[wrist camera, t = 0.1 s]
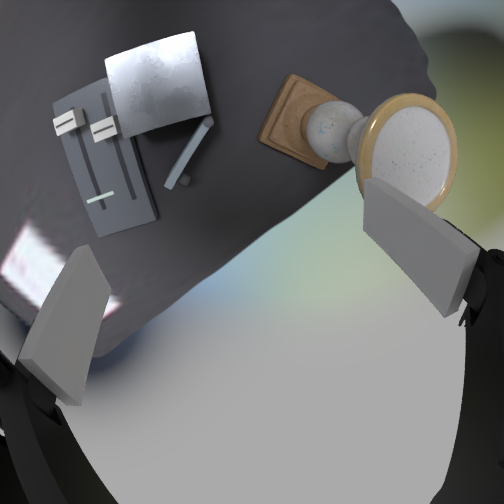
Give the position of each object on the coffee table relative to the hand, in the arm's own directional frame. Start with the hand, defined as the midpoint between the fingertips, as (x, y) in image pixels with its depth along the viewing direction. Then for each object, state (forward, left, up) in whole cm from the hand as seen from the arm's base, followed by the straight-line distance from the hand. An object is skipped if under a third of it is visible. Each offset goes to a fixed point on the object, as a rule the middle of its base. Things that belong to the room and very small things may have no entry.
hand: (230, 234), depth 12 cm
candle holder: (0, +14, -28) cm, 31 cm away
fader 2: (-6, -12, -25) cm, 29 cm away
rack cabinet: (-9, -4, -28) cm, 30 cm away
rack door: (+1, -2, -28) cm, 28 cm away
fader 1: (-9, -17, -26) cm, 32 cm away
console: (-2, -15, -28) cm, 32 cm away
